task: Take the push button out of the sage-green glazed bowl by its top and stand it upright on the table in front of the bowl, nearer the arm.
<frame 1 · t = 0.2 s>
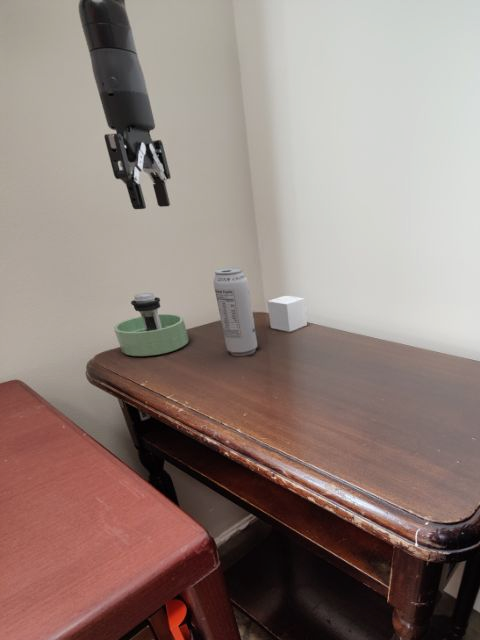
hand: (152, 207, 74), 25 cm above the table, tool pointing down, fingers open, 8 cm apart
white cube: (289, 327, 92), on the table
bowl: (156, 346, 83), on the table
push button: (156, 345, 83), resting in bowl
energy drink can: (243, 352, 79), on the table
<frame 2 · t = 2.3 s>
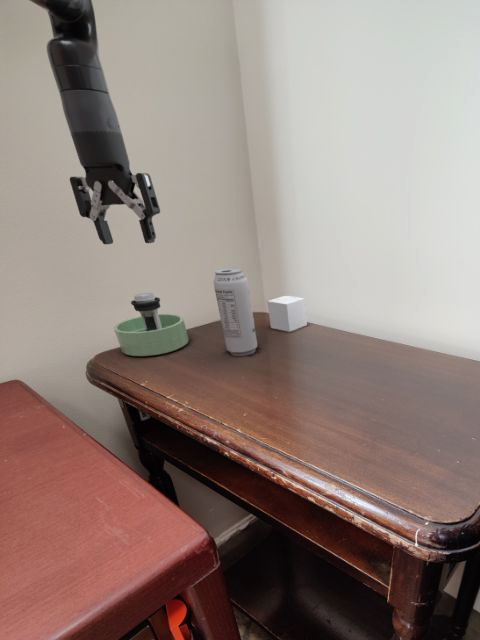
hand: (129, 243, 73), 19 cm above the table, tool pointing down, fingers open, 8 cm apart
nothing on the table moved.
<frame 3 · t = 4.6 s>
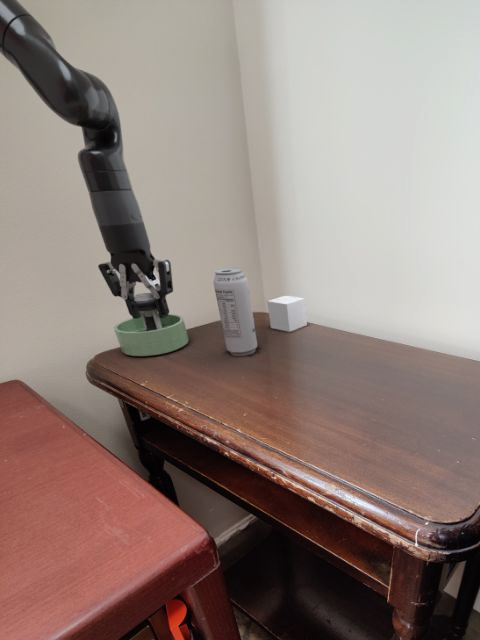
hand: (150, 317, 80), 6 cm above the table, tool pointing down, fingers closed on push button, 5 cm apart
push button: (156, 345, 83), resting in bowl, touching gripper
everything else where it was.
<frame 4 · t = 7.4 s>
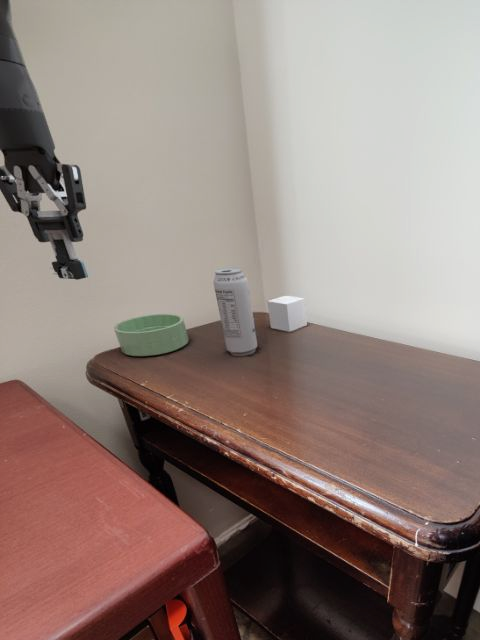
hand: (61, 241, 66), 21 cm above the table, tool pointing down, fingers closed on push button, 5 cm apart
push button: (71, 278, 69), point 15 cm above the table, touching gripper
everything else where it was.
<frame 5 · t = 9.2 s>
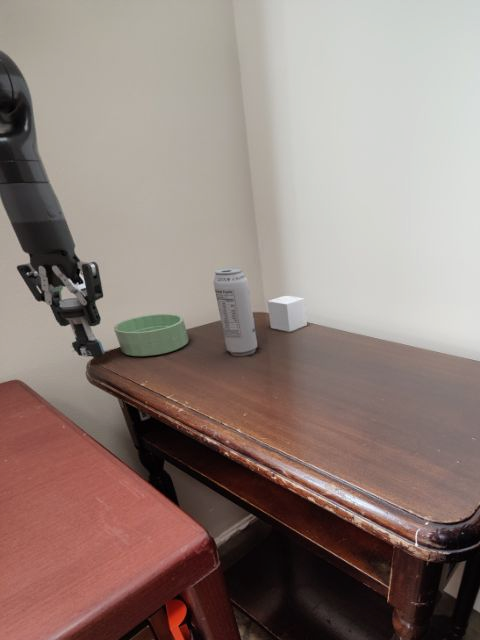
hand: (80, 324, 72), 7 cm above the table, tool pointing down, fingers closed on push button, 5 cm apart
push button: (89, 355, 75), point 2 cm above the table, touching gripper
everything else where it was.
when the fingers open (6 cm above the table, at t = 10.3 s): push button stays where it is, on the table.
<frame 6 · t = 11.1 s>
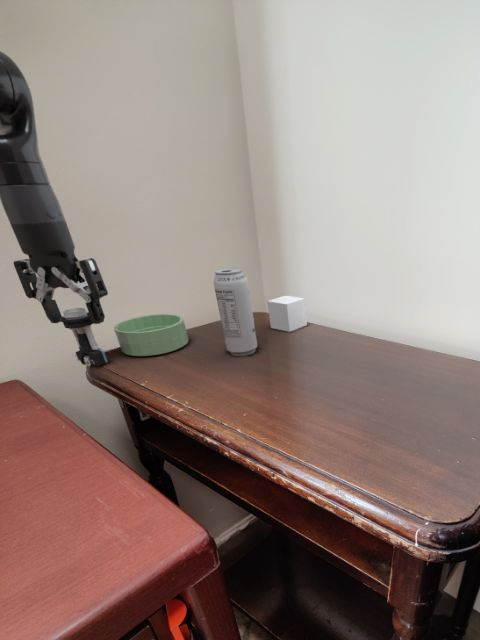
hand: (78, 322, 71), 8 cm above the table, tool pointing down, fingers open, 8 cm apart
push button: (92, 364, 76), on the table
everything else where it was.
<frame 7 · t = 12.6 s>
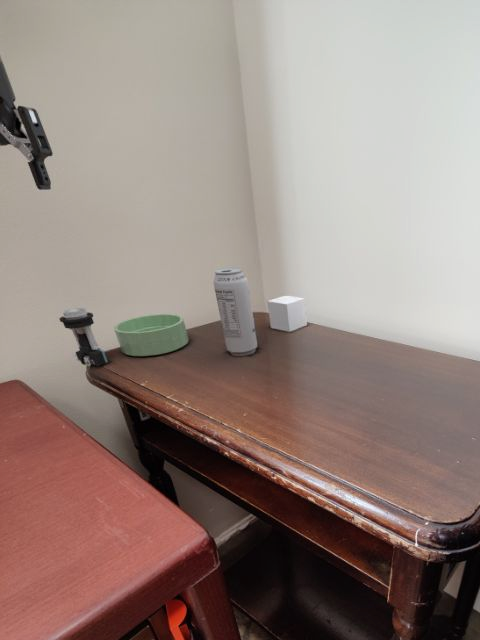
hand: (22, 190, 66), 28 cm above the table, tool pointing down, fingers open, 8 cm apart
nothing on the table moved.
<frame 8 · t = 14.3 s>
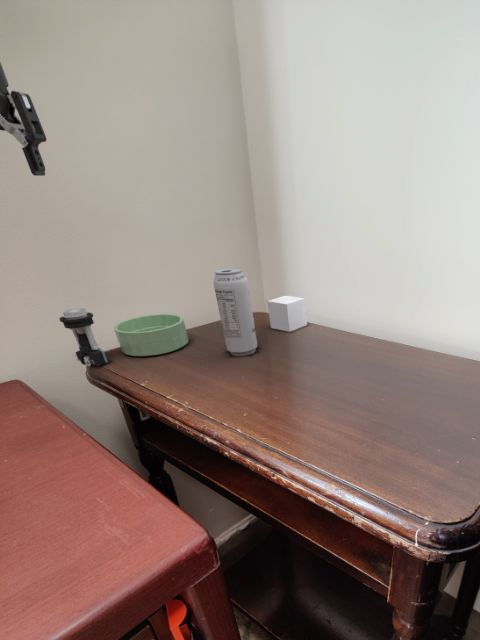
hand: (17, 176, 67), 30 cm above the table, tool pointing down, fingers open, 8 cm apart
nothing on the table moved.
at the end: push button inside the target area (0.8 cm from its centre), on the table; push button tilted 0°; the gripper is holding nothing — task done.
